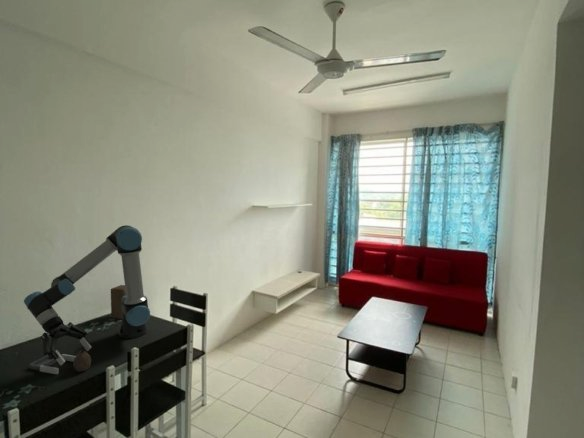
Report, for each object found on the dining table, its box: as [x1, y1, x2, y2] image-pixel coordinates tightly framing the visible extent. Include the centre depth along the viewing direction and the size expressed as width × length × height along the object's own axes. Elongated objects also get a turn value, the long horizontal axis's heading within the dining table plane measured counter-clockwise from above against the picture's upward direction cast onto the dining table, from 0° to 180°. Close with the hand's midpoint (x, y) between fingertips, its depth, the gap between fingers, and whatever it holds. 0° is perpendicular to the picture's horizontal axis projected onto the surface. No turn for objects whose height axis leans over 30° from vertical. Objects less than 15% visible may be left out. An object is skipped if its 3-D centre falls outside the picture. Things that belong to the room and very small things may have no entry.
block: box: [110, 284, 126, 320], centre depth 213 cm, size 10×10×20 cm
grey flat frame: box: [27, 354, 62, 372], centre depth 153 cm, size 7×11×2 cm, turn 167°
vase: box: [73, 349, 92, 373], centre depth 148 cm, size 7×7×9 cm
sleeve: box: [39, 353, 77, 375], centre depth 151 cm, size 10×12×2 cm
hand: (76, 356), depth 147 cm, fingers open, 13 cm apart
